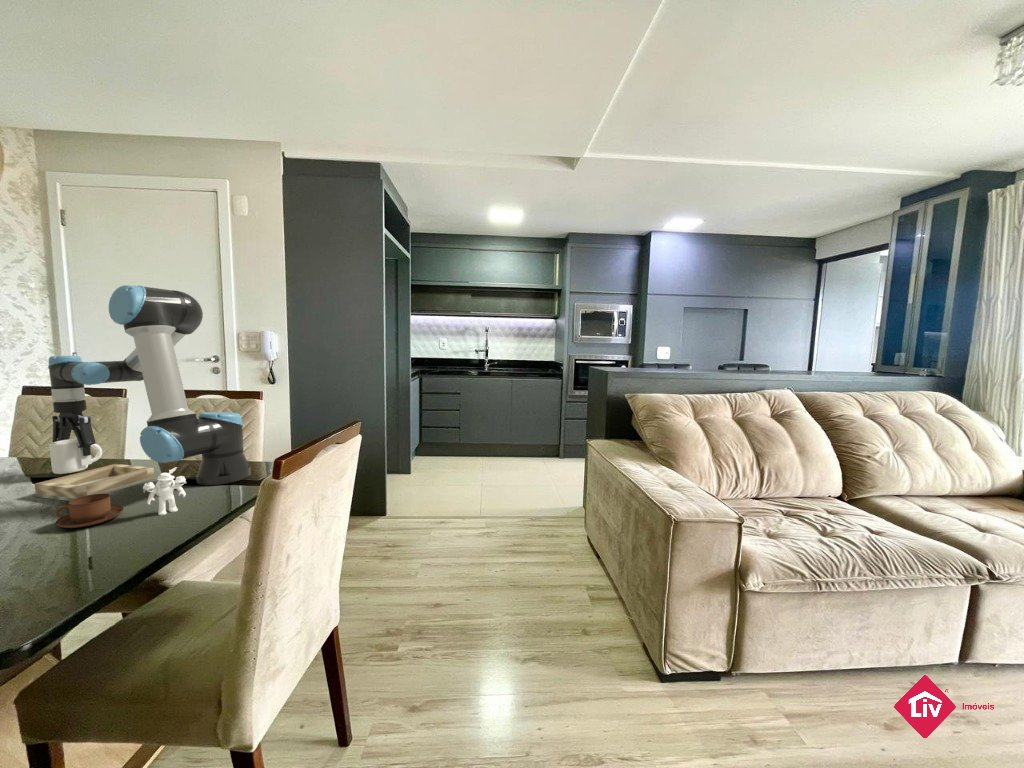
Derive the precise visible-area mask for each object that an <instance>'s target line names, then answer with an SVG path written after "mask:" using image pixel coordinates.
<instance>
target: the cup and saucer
mask: <svg viewBox="0 0 1024 768" xmlns="http://www.w3.org/2000/svg"><path fill="white" fill-rule="evenodd" d="M62 509H67V510H68V511H69V512H68V513H66V514H61V513H60V511H61V510H62ZM124 509H125V507H124V506H123V505H118V504H111V495H110V493H108V494H93V495H88V496H83V497H80V498H76V499H74V500H71V501H68V504H67V505H62V506H59V507H57V508H56V509H55V512H54V514H55V515H56V516H57V517H58V519H57V520H56V521H55V524H56V526H58V527H60V528H65V529H75V528H77V529H79V528H85V527H90V526H95V525H99V524H101V523H104V522H108V521H110V520H113V519H114V518H116V517H118V516H119V515H121V513H122V512H123V511H124Z"/></svg>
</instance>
